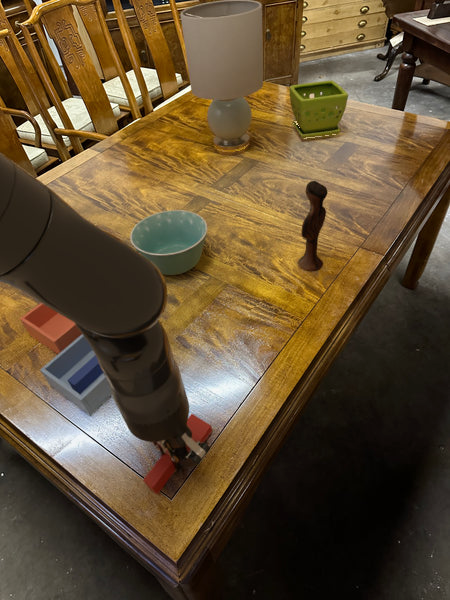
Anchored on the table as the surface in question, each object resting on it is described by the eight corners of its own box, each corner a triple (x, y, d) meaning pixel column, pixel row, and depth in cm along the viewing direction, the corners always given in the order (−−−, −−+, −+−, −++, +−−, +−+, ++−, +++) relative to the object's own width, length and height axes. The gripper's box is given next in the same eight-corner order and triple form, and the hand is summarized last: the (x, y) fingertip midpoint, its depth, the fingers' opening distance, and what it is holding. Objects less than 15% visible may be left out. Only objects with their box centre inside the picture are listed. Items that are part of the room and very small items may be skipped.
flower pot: (344, 138, 124) (349, 93, 116) (298, 145, 124) (300, 100, 115) (329, 120, 134) (333, 78, 126) (287, 127, 134) (288, 84, 125)
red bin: (63, 358, 73) (54, 341, 70) (29, 334, 78) (19, 318, 75) (125, 305, 82) (119, 288, 78) (91, 287, 86) (84, 270, 83)
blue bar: (83, 397, 67) (78, 387, 65) (69, 386, 68) (63, 377, 67) (133, 350, 73) (129, 340, 71) (118, 341, 74) (114, 332, 73)
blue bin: (90, 416, 65) (81, 400, 61) (50, 385, 69) (39, 369, 66) (156, 350, 73) (151, 333, 70) (116, 327, 78) (109, 310, 74)
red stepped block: (162, 498, 55) (157, 492, 53) (142, 483, 56) (137, 476, 55) (212, 429, 60) (209, 421, 58) (193, 417, 62) (190, 409, 60)
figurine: (310, 249, 89) (316, 170, 76) (331, 257, 86) (340, 177, 74) (291, 267, 85) (293, 188, 73) (312, 276, 83) (319, 196, 70)
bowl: (165, 233, 98) (158, 203, 92) (224, 249, 92) (221, 217, 86) (124, 275, 88) (113, 243, 82) (187, 295, 82) (180, 262, 76)
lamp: (273, 154, 121) (272, 9, 96) (206, 167, 119) (187, 22, 94) (254, 128, 135) (249, -5, 111) (193, 139, 133) (174, 7, 109)
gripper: (83, 387, 47) (123, 456, 59) (174, 452, 41) (197, 514, 53) (130, 344, 51) (158, 416, 64) (219, 396, 45) (231, 465, 57)
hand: (176, 460), depth 58 cm, fingers closed on red stepped block, 1 cm apart
